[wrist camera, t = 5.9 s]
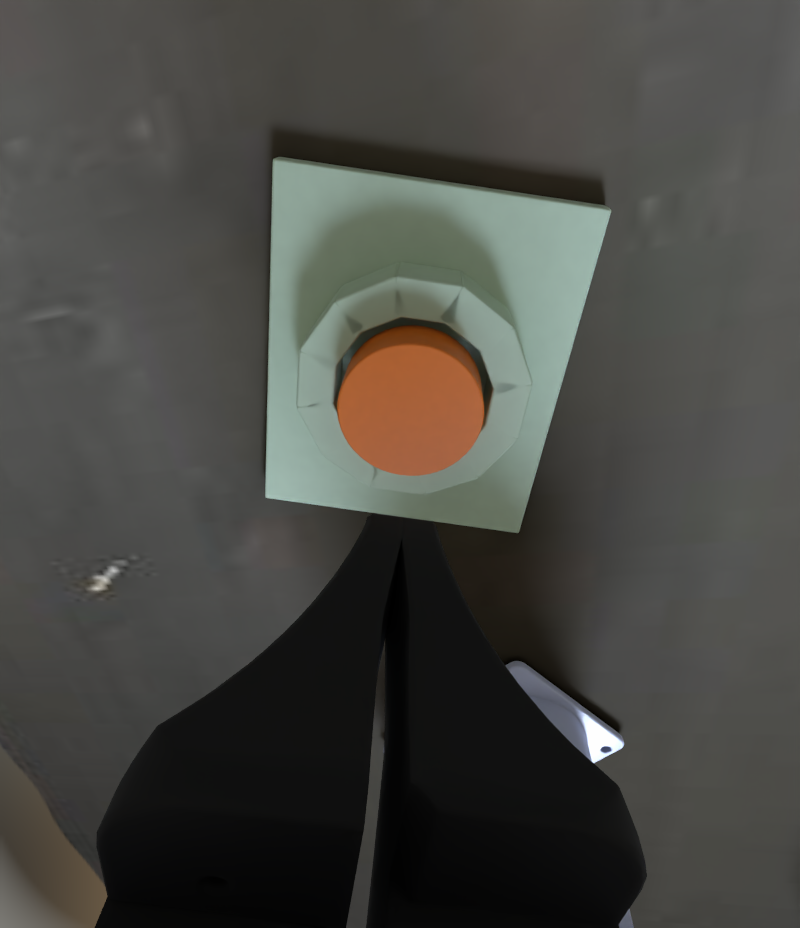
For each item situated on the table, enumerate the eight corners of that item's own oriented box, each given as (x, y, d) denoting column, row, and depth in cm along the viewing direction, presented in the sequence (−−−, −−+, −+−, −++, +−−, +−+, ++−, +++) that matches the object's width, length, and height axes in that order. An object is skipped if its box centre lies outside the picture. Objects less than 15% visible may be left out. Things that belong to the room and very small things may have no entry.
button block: (517, 523, 25) (524, 564, 23) (268, 488, 25) (252, 525, 23) (607, 205, 19) (628, 220, 17) (277, 155, 19) (256, 164, 17)
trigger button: (467, 459, 21) (469, 485, 20) (339, 441, 21) (331, 466, 20) (494, 335, 19) (498, 355, 18) (350, 314, 19) (342, 332, 17)
